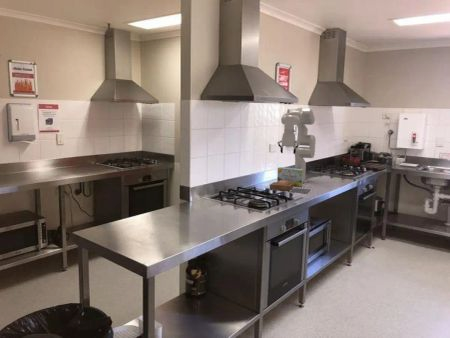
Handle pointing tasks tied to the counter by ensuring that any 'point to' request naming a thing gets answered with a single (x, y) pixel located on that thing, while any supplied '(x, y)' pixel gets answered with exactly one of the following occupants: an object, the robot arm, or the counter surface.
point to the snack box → (291, 176)
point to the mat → (300, 190)
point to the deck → (281, 187)
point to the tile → (282, 182)
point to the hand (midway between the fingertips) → (287, 153)
